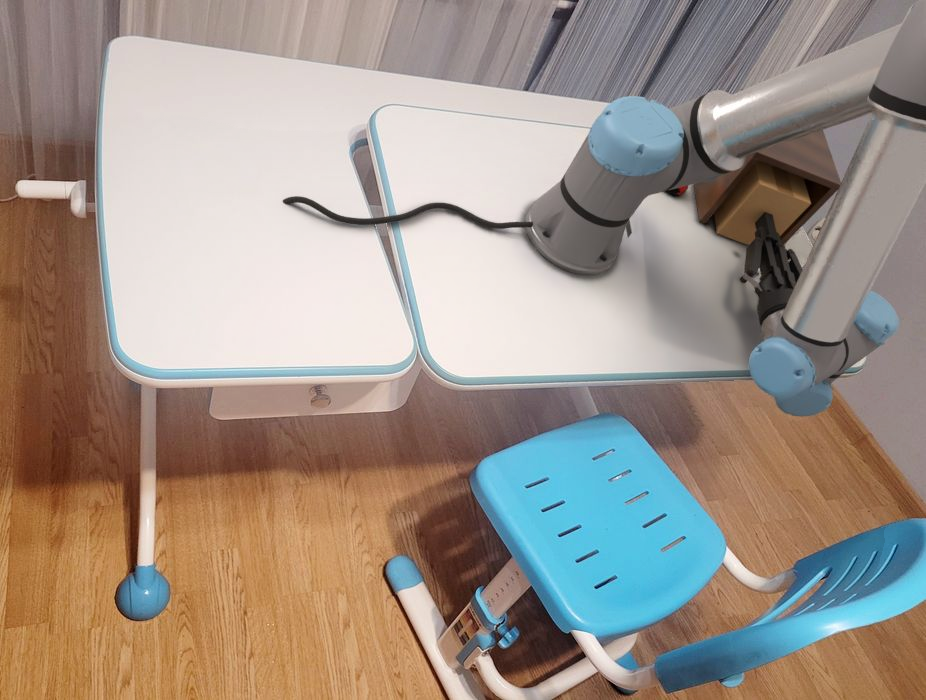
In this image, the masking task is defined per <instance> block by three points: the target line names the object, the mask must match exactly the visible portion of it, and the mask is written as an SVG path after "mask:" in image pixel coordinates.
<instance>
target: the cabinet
mask: <svg viewBox="0 0 926 700" xmlns="http://www.w3.org/2000/svg"><path fill="white" fill-rule="evenodd" d="M744 89H745V88H741V89H740V90H739V91H742V90H744ZM758 160H760V161H763V162H765V163H768V164H770V165H773V166H775V167H778V168H781V169H783V170H786V171H788V172H791V173H793V174H796V175H798V176H801V177H803V178H804V181H805V184H806V188H807V191H808V195H809V198H810V202H811V204H810V205H809V207H808V208H807V209H806V210H805V211H804V212H803V213H802V214H801V215H800V216H799V217H798V218H797V219H796V220H795V221H794V222H793V223H792V224H791V225H790V226H789V227H788V228H787V229H786V230H785V231H784V232H783V234H782V235H781V236H780V239H781V243H782V244H783V245H784V246H785V245H786V243H788V241H789V240H791V239H792V237H794V235H795V234H796V233H797V232H799V230H800V229H801V228H803V226H804V225H805V224H806V223H807V222H808V221H809V220H810V219H811V218H812V217H813V216H814V215H815V214H816V213H817V212H818V211H819V210H820V209H821V208H822V207H823V206H824V205H825V204H826V203H827V202H828V201H829V200H830V199H831V198H832V196H834V195H835V194H836V193H837V191H838V189H839V187H840V184H841V182H842V180H841V178H840V176H839V173H838V170H837V167H836V165H835V161H834V158H833V155H832V152H831V149H830V146H829V143H828V140H827V138H826V135H825V132H824V129H823V130H820V131H818V132H815V133H812V134H809V135H806V136H803V137H800V138H797V139H794V140H791V141H788V142H785V143H782V144H779V145H776V146H773V147H770V148H767V149H764V150H761V151H758V152H755V153H752V154H749V157H748V159H747V161H746V163H745V164H744V165H743V166H742V167H741V168H739V169H737V170H735V171H732V172H729V173H726V174H723V175H721V176H719V177H717V178H716V179H714V180H712V181H709V182H706V183H700V184H693V188H694V196H695V201H696V202H695V203H696V209H697V216H698V222H699V223H701V224H704V225H706V224H707V223H708V221H709V220H710V218H712V216H714V213H715V211H716V210H717V209H718V208H719V207H720V205H721V204H722V203H723V202H724V201H725V199H726V198H727V197H728V196H729V195H730V193H731V192H732V191H733V190H734V189H735V188H736V186H737V185H738V184H739V183H740V182H741V180H742V179H743V178H744V177H745V176H746V174H747V173H748V172H749V171H750V170H751V168H752V167H753V166H754V165H755V164H756V162H757V161H758Z"/></svg>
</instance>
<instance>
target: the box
mask: <svg viewBox="0 0 926 700" xmlns="http://www.w3.org/2000/svg"><path fill="white" fill-rule="evenodd" d="M810 204H811V202H810V198H809V195H808V191H807V188H806V184H805V181H804V178H803V177H801V176H798V175H796V174H793V173H791V172H788V171H786V170H783V169H781V168H778V167H775V166H773V165H770V164H768V163H765V162H763V161H760V160H758V161H757V162H756V164H755V165H754V166H753V167H752V168H751V170H750V171H749V172H748V173H747V174H746V176H745V177H744V178H743V179H742V180H741V182H740V183H739V184H738V185H737V186H736V188H735V189H734V190H733V191H732V192H731V193H730V195H729V196H728V197H727V198H726V199H725V201H724V202H723V203H722V204H721V205H720V207H719V208H718V209H717V210H716V211H715V213H714V214H713V217H714V223H715V229H716V234H718V235H720V236H722V237H725V238H728V239H730V240H734V241H736V242H739V243H741V244H744V245H747V246H749V244H750V243H751V242H752V241H753V240H754V239H755V238H756V237H755V232H756V231H757V230H756V226H755V222H756V221H757V220H758V219H759V218H760V217H761V216H762V215H763V214H764V212H767V213H769V214H772V215H773V219H774V223H775V227H776V231H777V232H778V233H779V235H780V236H781V235H782V234H783V232H784V231H785V230H786V229H787V228H788V227H789V226H790V225H791V224H792V223H793V222H794V221H795V220H796V219H797V218H798V217H799V216H800V215H801V214H802V213H803V212H804V211H805V210H806V209H807V208H808V207H809V205H810Z"/></svg>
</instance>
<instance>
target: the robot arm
mask: <svg viewBox="0 0 926 700" xmlns="http://www.w3.org/2000/svg"><path fill="white" fill-rule="evenodd" d="M743 89H744V90H742V91H740V90H739V91H737V92H735V93H731V94H730V93H729V92H727V91H725V90H722V89H714V90H712V91H709V92H707V93H704V94H702V95H700V96H697V97H695V98H693V99H691V100H688V101H686V102H684V103H681V104H679V105H675V106H672V107H667V106H665V105H664V104H662V103H661V102H658V101H656V100H654V99H651V100H650V101H649V100H647V99H646V97H644V96H639V95H629V96H623V97H622V96H621V97H619V98H617V99H615V100H613V101H612V102H610V103H608V104H607V106H606V107H604V109H603V111H602V112H601V113H600V114H599V115H598V116H597V117H596V119H595V120H594V122H593V123H592V125H591V126H590V129H589V132H588V133H587V135H586V137H585V139H584V141H583V142H582V144H581V145H580V147H579V149H578V150H577V152H576V155H575V156H574V157H573V159H572V161H571V162H570V164H569V166H568V168H567V169H566V171H565V173H564V174H563V176H562V178H561V180H560V181H558V182H557V183H556V184H555V185H554V186H552V187H551V188H550V189H548V190H547V191H546V192H544V193H543V194H542V195H541V196H540V197H538V198H537V199H536V200H535V201H534V202H533V204H532V205H531V207H530V208H529V210H528V211H527V214H526V217H525V221H508V222H494V221H489V220H486V219H484V218H482V217H479V216H477V215H476V214H473V213H472V212H470V211H468V210H466V209H465V208H462V207H460V206H458V205H455V204H453V203H447V202H429V203H427V204H426V203H425V204H423V205H421V206H418V207H416V208H415V209H411V210H410V211H406V212H404V213H400V214H395V215H387V216H381V217H370V218H368V217H367V218H366V217H365V218H362V217H361V218H359V217H350V216H344V215H340V214H338V213H335V212H333V211H331V210H330V209H328V208H326V207H325V206H324V205H322V204H320V203H318V202H317V201H315V200H313V199H311V198H308V197H305V196H300V195H299V196H298V195H296V196H288V197H286V198H284V199H282V203H283V204H284V205H291V204H304V205H307V206H309V207H311V208H313V209H314V210H316V211H318V212H319V213H321V214H322V215H324V216H325V217H327V218H329V219H332V220H333V221H336V222H339V223H343V224H347V225H357V226H373V225H383V224H390V223H396V222H401V221H405V220H408V219H411V218H413V217H416V216H417V215H420V214H422V213H424V212H427V211H430V210H436V209H439V210H440V209H443V210H448V211H452V212H455V213H456V214H459V215H461V216H464V217H465V218H467V219H469V220H471V221H473V222H474V223H475V224H479V225H481V226H484V227H486V228H489V229H490V228H491V229H495V230H503V229H519V228H522V229H523V228H525V230H526V233H527V235H528V238H529V240H530V242H531V244H532V245H533V246H534V248H535V249H536V250H537V251H538V253H540V255H542V256H543V257H544V258H545V259H546V260H547V261H549V262H550V263H551V264H553V265H554V266H557V267H558V268H560V269H562V270H565V271H567V272H570V273H573V274H577V275H583V276H593V275H598V274H601V273H604V272H605V271H607V270H608V269H609V268H610V267H611V266H612V264H613V263H614V262H615V260H616V259H617V257H618V255H619V252H620V248H621V245H622V242H623V238H624V235H625V232H626V236H627V238H629V237H630V236H631V234H632V233H633V232H632V227H631V221H630V219H631V218H632V217H633V215H634V214H635V212H636V211H637V210H638V209H639V207H640V206H641V204H642V202H644V200H646V198H648V197H649V196H652V195H656V194H660V193H664V192H668V190H671V189H676V188H680V187H684V186H688V185H689V186H691V185H694V184H700V183H706V182H709V181H712V180H714V179H716V178H717V177H719V176H721V175H723V174H726V173H729V172H732V171H735V170H737V169H739V168H741V167H742V166H743V165H744V164H745V163H746V161H747V159H748V157H749V154H752V153H755V152H758V151H761V150H764V149H767V148H770V147H773V146H776V145H779V144H782V143H785V142H788V141H791V140H794V139H797V138H800V137H803V136H806V135H809V134H812V133H815V132H818V131H820V130H823V131H824V130H826V129H829V128H832V127H835V126H838V125H841V124H845V123H847V122H850V121H853V120H856V119H860V118H861V117H865V116H869V115H870V117H869V120H868V122H867V124H866V126H865V128H864V131H863V133H862V135H861V137H860V139H859V142H858V144H857V146H856V148H855V151H854V152H853V155H852V158H851V160H850V162H849V164H848V167H847V169H846V171H845V173H844V175H843V177H842V180H841V184H840V187H839V189H838V190H837V191H836V192H835V196H834V197H833V200H832V203H831V204H830V207H829V208H828V211H827V214H826V216H825V218H824V220H823V222H822V225H821V227H820V229H819V232H818V234H817V236H816V237H815V241H814V243H813V245H812V247H811V249H810V252H809V254H808V256H807V258H806V261H805V263H804V265H803V266H802V265H801V264H802V263H800V261H799V259H798V256H797V254H796V252H795V251H794V250H793V249H792V248H789V249H787V248H786V246H785V244H784V245H783V244H782V243H781V239H780V235H779V233H778V232H777V231H776V227H775V223H774V219H773V215H772V214H769V213H767V212H764V214H763V215H762V216H761V217H760V218H759V219H758V220H757V221H756V222H755V226H756V230H757V231H756V232H755V237H756V238H755V239H754V240H753V241H752V242H751V243H750V244H749V245H747V247H746V250H745V259H744V268H743V273H742V275H741V276H740V277H739V281H740V283H742V284H746V283H747V282H748V283H749V284H750V285H751V286H753V287H754V293H755V294H756V296H757V298H758V300H757V305H756V312H757V316H758V322H759V325H760V331H761V337H762V341H761V342H760V343H759V344H758V345H757V346H756V347H754V349H753V350H752V351H751V353H750V355H749V358H748V369H749V373H750V377H751V379H752V381H753V383H755V385H756V386H757V387H758V388H759V389H760V390H761V391H762V392H764V393H765V394H767V395H768V396H771V397H773V398H774V401H775V404H776V406H777V408H778V409H779V410H780V412H782V413H785V414H786V415H791V416H793V417H811V416H815V415H818V414H821V413H822V412H824V411H826V410H828V408H829V407H830V406H831V404H832V402H833V400H834V394H833V390H834V389H833V386H832V383H833V382H834V381H836V380H837V379H839V378H840V377H841V376H842V375H843V374H844V373H845V372H846V371H848V370H849V369H850V368H852V367H853V366H855V365H856V364H857V363H859V362H860V361H862V360H863V359H864V358H866V357H867V356H869V355H870V354H871V353H872V352H873V351H875V350H877V349H878V348H879V347H881V346H884V345H885V343H886V341H888V340H889V339H891V338H892V337H893V336H894V335H895V334H896V333H897V332H898V330H899V328H900V319H899V316H898V314H897V312H896V310H895V308H894V307H893V306H892V305H891V304H890V303H889V302H888V300H887V299H885V297H883V296H882V295H880V294H879V293H877V292H875V291H873V290H871V289H872V288H873V286H874V284H875V283H876V280H877V278H878V276H879V274H880V272H881V270H882V269H883V266H884V264H885V262H886V261H887V259H888V256H889V254H890V253H891V251H892V249H893V247H894V245H895V242H896V241H897V239H898V237H899V235H900V234H901V231H902V230H903V228H904V226H905V224H906V222H907V220H908V219H909V216H910V214H911V212H912V210H913V208H914V206H915V204H916V203H917V201H918V199H919V197H920V195H921V193H922V191H923V189H924V187H925V185H926V0H917V1H916V2H914V3H913V4H912V5H911V6H910V7H909V9H908V10H907V13H906V15H905V16H904V18H903V21H902V22H901V23H899V24H897V25H894V26H892V27H890V28H887V29H885V30H883V31H880V32H877V33H875V34H872V35H870V36H868V37H866V38H863V39H861V40H859V41H856V42H853V43H852V44H849V45H847V46H844V47H842V48H840V49H838V50H835V51H833V52H830V53H827V54H825V55H823V56H820V57H817V58H815V59H814V60H811V61H807V62H806V63H804V64H801V65H799V66H797V67H794V68H792V69H790V70H787V71H785V72H782V73H780V74H777V75H775V76H773V77H770V78H768V79H765V80H764V81H761V82H759V83H756V84H754V85H751V86H749V87H747V88H743ZM689 186H688V187H689ZM625 230H626V231H625Z"/></svg>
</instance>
